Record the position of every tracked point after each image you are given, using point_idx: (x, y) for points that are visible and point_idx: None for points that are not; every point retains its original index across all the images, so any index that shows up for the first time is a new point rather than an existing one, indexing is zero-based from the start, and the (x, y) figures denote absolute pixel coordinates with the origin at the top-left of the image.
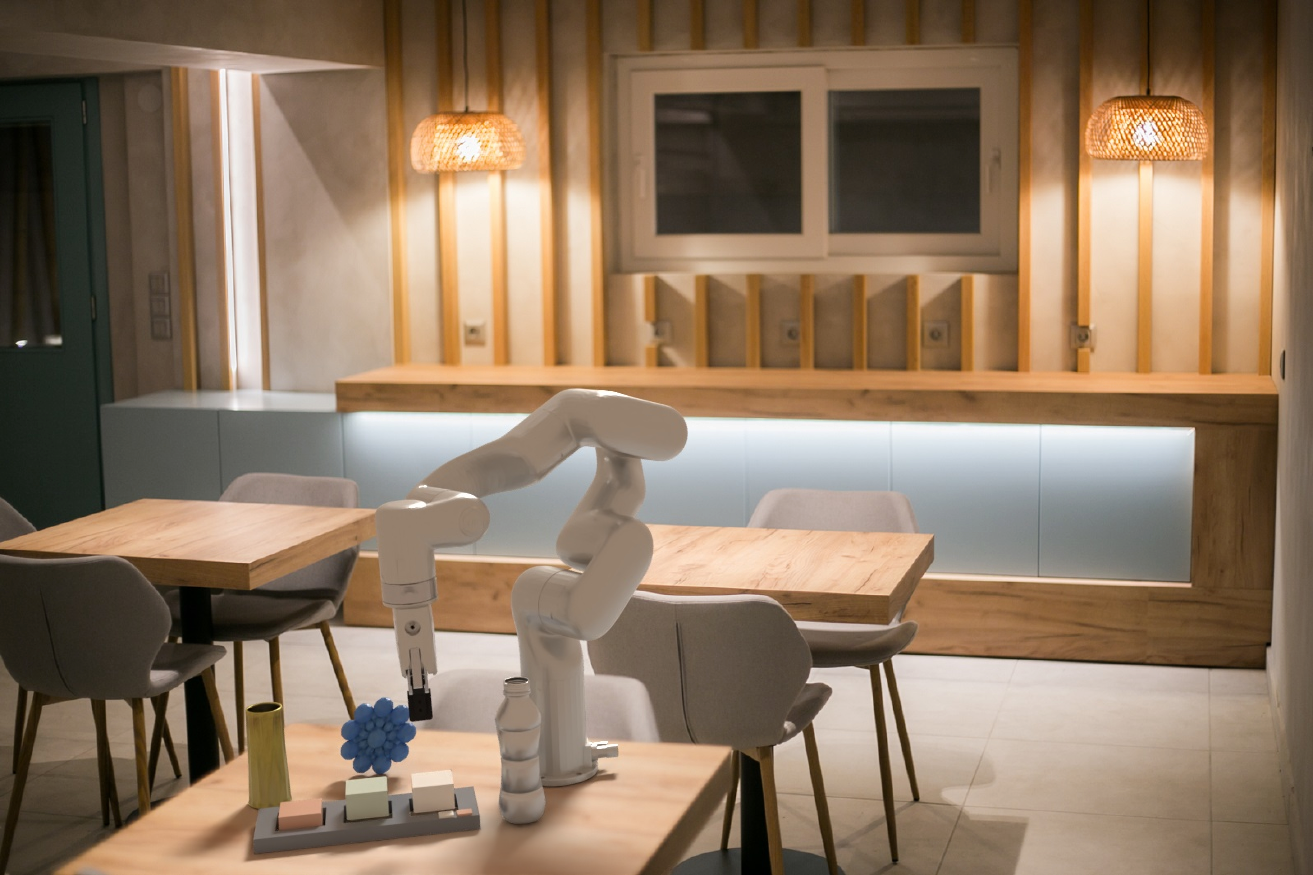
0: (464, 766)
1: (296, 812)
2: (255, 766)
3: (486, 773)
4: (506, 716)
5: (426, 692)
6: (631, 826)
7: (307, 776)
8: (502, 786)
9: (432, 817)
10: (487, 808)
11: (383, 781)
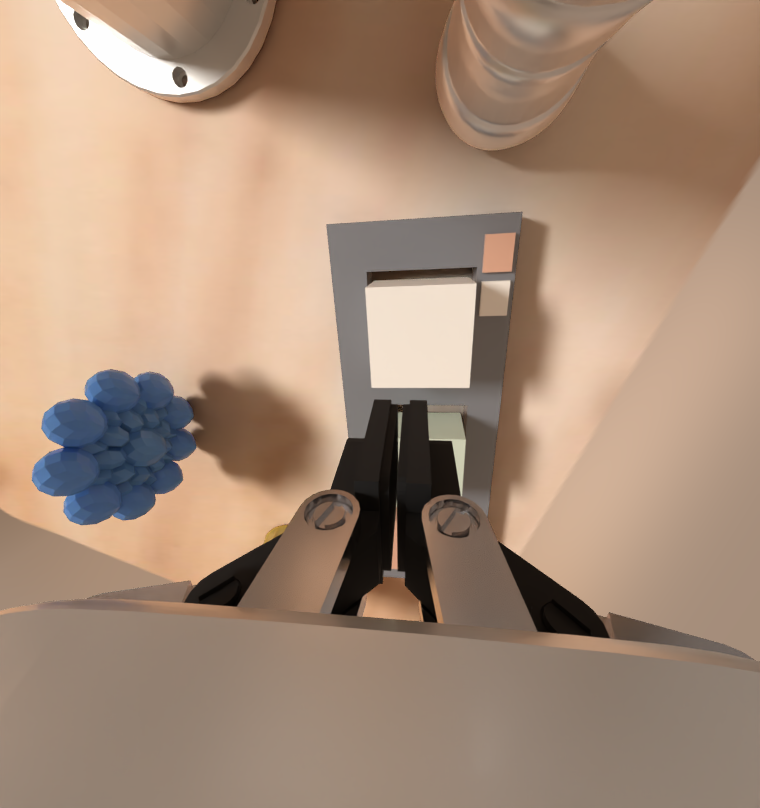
0: (138, 244)
1: None
2: None
3: (177, 189)
4: None
5: (476, 517)
6: None
7: (198, 504)
8: (536, 113)
9: (492, 328)
10: (392, 192)
11: None
